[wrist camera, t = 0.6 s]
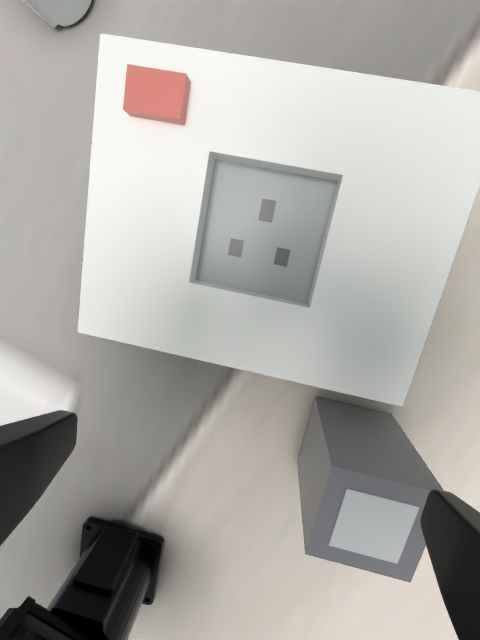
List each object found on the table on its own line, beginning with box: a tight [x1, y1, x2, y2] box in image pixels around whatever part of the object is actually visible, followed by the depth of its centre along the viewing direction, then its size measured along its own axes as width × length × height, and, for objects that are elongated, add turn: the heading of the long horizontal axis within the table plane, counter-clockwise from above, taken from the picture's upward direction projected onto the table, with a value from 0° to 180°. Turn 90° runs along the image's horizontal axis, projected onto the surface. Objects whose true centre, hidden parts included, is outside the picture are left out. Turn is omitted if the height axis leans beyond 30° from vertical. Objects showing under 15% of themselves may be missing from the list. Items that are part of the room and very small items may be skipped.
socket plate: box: [78, 33, 480, 407], centre depth 18 cm, size 16×20×3 cm
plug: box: [297, 397, 444, 582], centre depth 18 cm, size 5×5×7 cm
